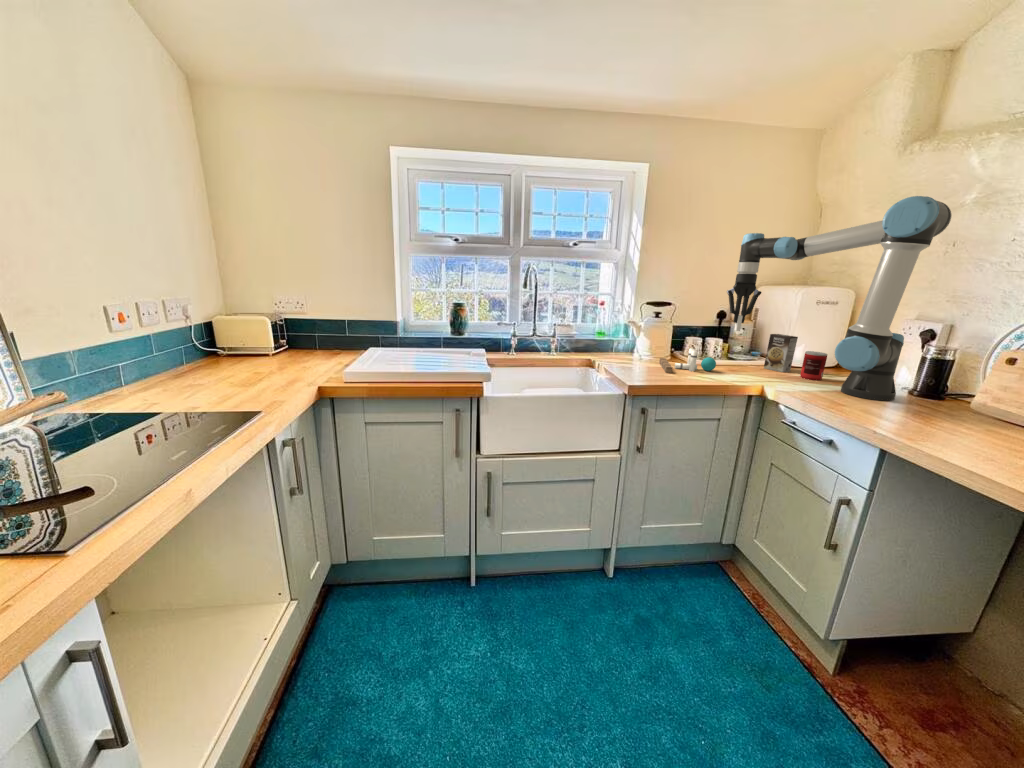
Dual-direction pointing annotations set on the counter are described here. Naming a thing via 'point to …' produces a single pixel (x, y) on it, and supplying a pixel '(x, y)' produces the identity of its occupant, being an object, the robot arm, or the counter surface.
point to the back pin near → (693, 360)
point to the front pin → (683, 366)
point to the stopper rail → (665, 365)
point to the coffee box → (780, 352)
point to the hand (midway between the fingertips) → (737, 330)
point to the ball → (708, 364)
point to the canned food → (813, 365)
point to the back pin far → (689, 355)
